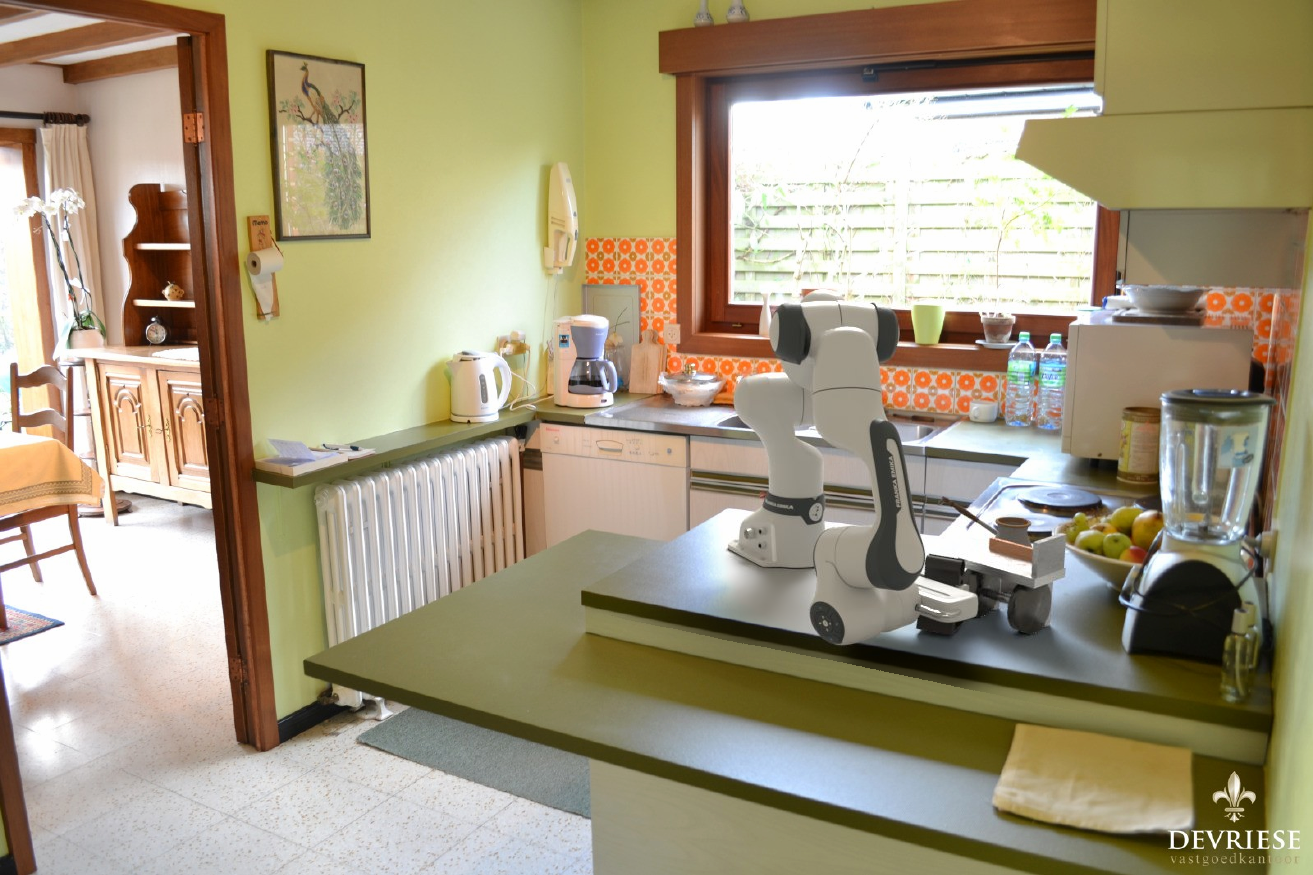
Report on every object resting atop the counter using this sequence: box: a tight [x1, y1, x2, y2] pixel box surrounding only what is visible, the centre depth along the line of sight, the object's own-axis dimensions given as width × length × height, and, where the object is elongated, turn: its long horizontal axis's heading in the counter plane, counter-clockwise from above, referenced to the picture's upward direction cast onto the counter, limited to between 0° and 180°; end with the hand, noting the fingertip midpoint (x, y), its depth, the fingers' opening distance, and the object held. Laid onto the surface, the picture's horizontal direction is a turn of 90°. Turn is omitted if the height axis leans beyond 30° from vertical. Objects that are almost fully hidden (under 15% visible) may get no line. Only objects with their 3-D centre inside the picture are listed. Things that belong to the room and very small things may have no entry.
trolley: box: [957, 532, 1067, 635], centre depth 175 cm, size 15×10×17 cm
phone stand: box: [915, 553, 968, 637], centre depth 173 cm, size 9×6×12 cm, turn 146°
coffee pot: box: [937, 496, 1033, 594], centre depth 196 cm, size 21×12×15 cm, turn 44°
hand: (947, 582), depth 173 cm, fingers closed on phone stand, 6 cm apart
